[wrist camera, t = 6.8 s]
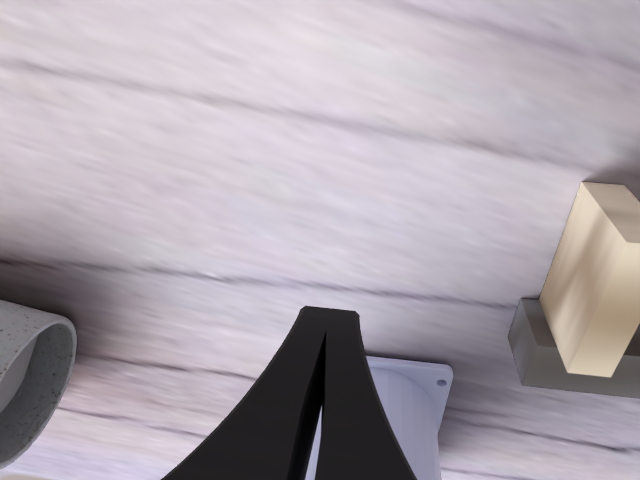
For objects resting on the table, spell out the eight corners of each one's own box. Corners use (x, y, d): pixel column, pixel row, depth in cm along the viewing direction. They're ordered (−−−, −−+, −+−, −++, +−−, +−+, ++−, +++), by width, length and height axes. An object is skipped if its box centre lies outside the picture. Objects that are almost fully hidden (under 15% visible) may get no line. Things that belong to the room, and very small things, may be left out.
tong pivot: (628, 348, 23) (672, 426, 20) (507, 336, 24) (529, 410, 20) (712, 191, 19) (789, 256, 15) (560, 179, 19) (600, 240, 15)
